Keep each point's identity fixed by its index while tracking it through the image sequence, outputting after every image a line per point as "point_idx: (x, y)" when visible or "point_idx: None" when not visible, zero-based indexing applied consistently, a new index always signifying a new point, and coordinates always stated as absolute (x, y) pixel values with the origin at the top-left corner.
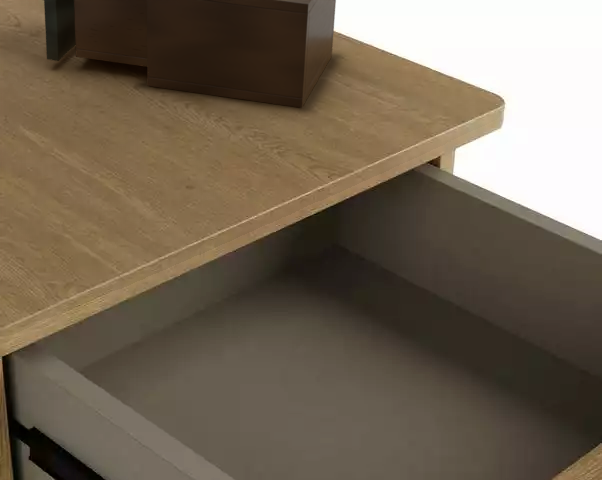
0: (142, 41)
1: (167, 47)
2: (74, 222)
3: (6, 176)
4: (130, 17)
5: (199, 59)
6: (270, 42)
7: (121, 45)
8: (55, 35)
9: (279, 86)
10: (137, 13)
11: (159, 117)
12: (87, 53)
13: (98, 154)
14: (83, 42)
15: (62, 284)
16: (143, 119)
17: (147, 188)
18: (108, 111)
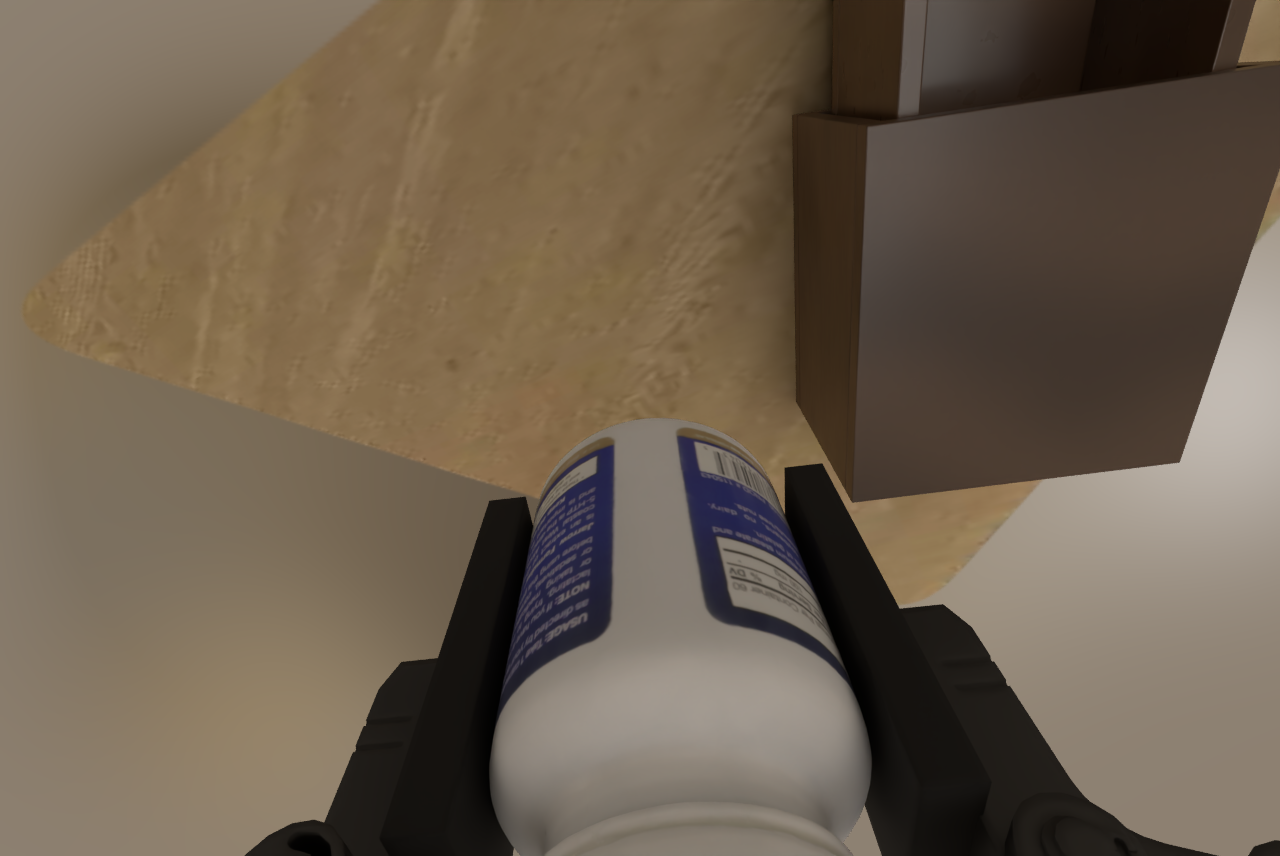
0: (850, 87)
1: (816, 170)
2: (251, 268)
3: (294, 72)
4: (871, 50)
5: (811, 241)
6: (826, 396)
7: (846, 27)
8: None
9: (803, 380)
10: (874, 72)
11: (661, 208)
12: None
13: (468, 183)
14: None
15: (112, 338)
16: (640, 185)
17: (412, 313)
18: (643, 102)
